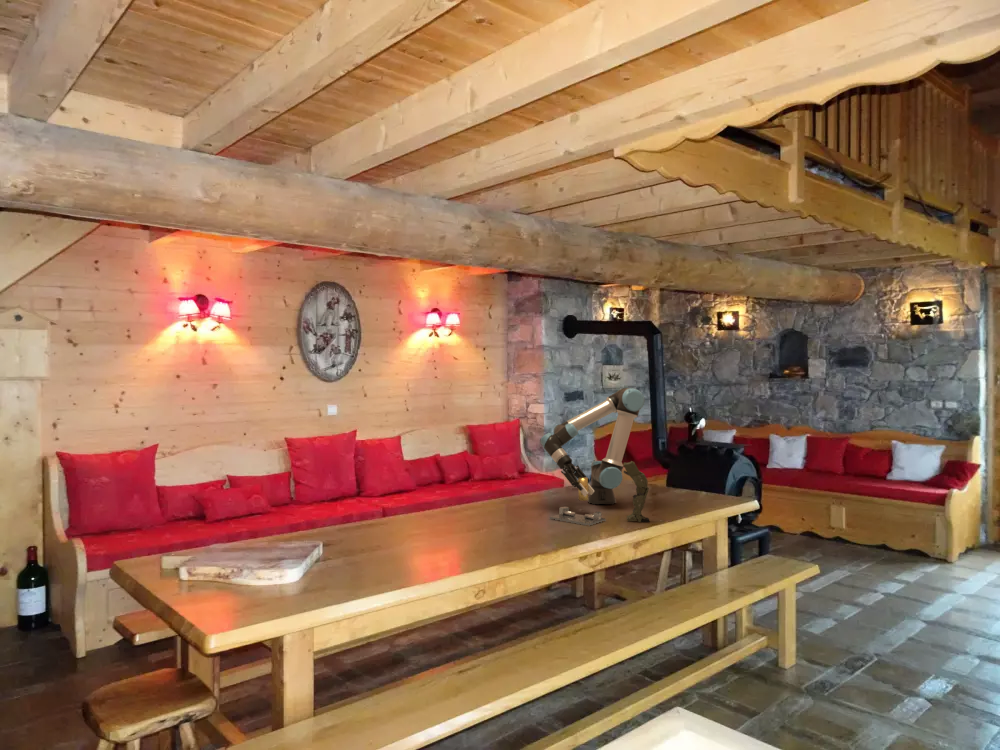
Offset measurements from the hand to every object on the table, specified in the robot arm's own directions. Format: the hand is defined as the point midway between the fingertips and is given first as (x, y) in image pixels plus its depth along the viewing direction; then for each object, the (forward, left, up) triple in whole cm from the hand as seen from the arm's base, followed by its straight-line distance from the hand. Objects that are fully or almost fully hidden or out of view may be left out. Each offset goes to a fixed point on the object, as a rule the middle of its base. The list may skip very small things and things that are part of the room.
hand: (589, 493), depth 357 cm
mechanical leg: (-7, +24, -11) cm, 28 cm away
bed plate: (+14, +5, -10) cm, 19 cm away
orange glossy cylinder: (+1, -4, -3) cm, 5 cm away
